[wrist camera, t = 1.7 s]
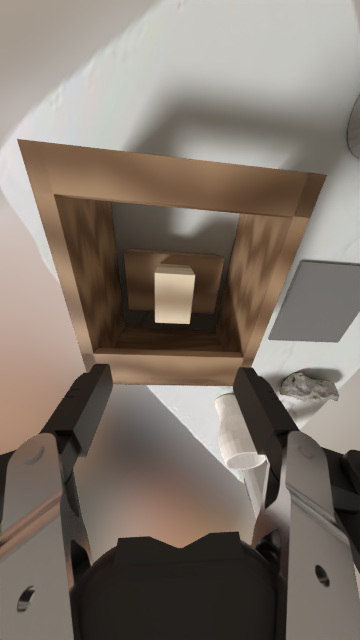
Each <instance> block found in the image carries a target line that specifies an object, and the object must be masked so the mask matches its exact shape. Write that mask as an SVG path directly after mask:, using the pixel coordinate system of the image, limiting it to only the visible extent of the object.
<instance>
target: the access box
mask: <svg viewBox="0 0 360 640" xmlns="http://www.w3.org/2000/svg"><path fill="white" fill-rule="evenodd" d="M17 141H18V144H19V147H20V151H21V154H22V157H23V161H24V164H25V167H26V171H27V174H28V177H29V181H30V184H31V187H32V191H33V194H34V197H35V201H36V204H37V208H38V211H39V214H40V218H41V221H42V224H43V228H44V231H45V234H46V238H47V241H48V244H49V248H50V251H51V254H52V258H53V261H54V264H55V268H56V271H57V274H58V278H59V281H60V284H61V288H62V291H63V294H64V298H65V301H66V304H67V308H68V311H69V315H70V318H71V321H72V325H73V328H74V331H75V335H76V338H77V341H78V345H79V348H80V351H81V355H82V358H83V361H84V365H85V368H86V371H87V373H89V372H90V370H91V368H92V367H93V365H94V364H109V365H110V369H111V374H112V379H113V384H125V385H126V384H128V385H192V386H233V383H234V380H235V377H236V374H237V371H238V369H239V367H251V366H252V363H253V361H254V358H255V356H256V353H257V351H258V348H259V346H260V343H261V341H262V338H263V336H264V333H265V330H266V328H267V325H268V323H269V320H270V318H271V315H272V313H273V310H274V308H275V305H276V303H277V300H278V298H279V295H280V292H281V290H282V287H283V285H284V282H285V280H286V277H287V275H288V272H289V270H290V267H291V265H292V262H293V260H294V257H295V254H296V252H297V249H298V247H299V244H300V242H301V239H302V237H303V234H304V232H305V229H306V227H307V224H308V222H309V219H310V216H311V214H312V211H313V209H314V206H315V204H316V201H317V199H318V196H319V194H320V191H321V189H322V186H323V184H324V181H325V179H326V176H327V175H323V174H315V173H306V172H298V171H289V170H280V169H272V168H263V167H254V166H246V165H237V164H228V163H220V162H211V161H202V160H194V159H185V158H176V157H168V156H159V155H150V154H142V153H133V152H124V151H116V150H107V149H99V148H90V147H81V146H73V145H64V144H55V143H47V142H38V141H29V140H21V139H17ZM111 201H113V202H123V203H134V204H145V205H155V206H166V207H177V208H187V209H198V210H209V211H219V212H230V213H240V216H239V221H238V226H237V230H236V235H235V240H234V244H233V249H232V254H231V259H230V263H229V268H228V273H227V277H226V282H225V287H224V292H223V296H222V301H221V306H220V310H219V315H218V320H217V324H216V329H215V331H206V330H181V329H156V328H130V327H125V324H124V315H123V306H122V297H121V289H120V280H119V271H118V262H117V253H116V245H115V236H114V227H113V218H112V210H111ZM224 259H225V258H223V257H221V256H219V255H207V254H194V253H180V252H167V251H153V250H140V249H128V250H125V251H124V262H125V273H126V283H127V294H128V305H129V310H148V311H155V271H156V269H157V267H158V265H159V264H174V265H189V266H190V267H191V269H192V270H193V272H194V274H195V282H194V290H193V299H192V307H191V313H212V314H214V310H215V305H216V300H217V295H218V289H219V284H220V279H221V274H222V269H223V264H224Z"/></svg>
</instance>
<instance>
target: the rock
mask: <svg viewBox="0 0 360 640" xmlns="http://www.w3.org/2000/svg"><path fill="white" fill-rule="evenodd" d="M279 392H280V394H281V395H287V396H293V397H295V398H297V399H300V400H302V401H304V402H305V403H306V402H321V401H322V400H324V399H328V398H329V399H333V400H335V401H338V397H339V395H338V391H337V389H336V387H335V385H334V383H332V382H329V381H322V380H319V379H316V380H313V379H310V378H308V377H307V376H304V374H303V373H293V374H291V375H290V376H289V377H287V378H286V380H284V382H283V383H282V385H281V388H280V389H279Z"/></svg>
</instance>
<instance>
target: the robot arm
mask: <svg viewBox="0 0 360 640" xmlns="http://www.w3.org/2000/svg"><path fill="white" fill-rule="evenodd" d="M348 144H349V147H350V150H351V151H352V153H353V155H355V156H356V157H357V158H359V159H360V96H359V98H358V99H357V101H356V104H355V106H354V109H353V111H352V114H351V118H350V121H349V127H348ZM112 387H113V379H112V374H111V369H110V365H109V364H94V365H93V367H92V368H91V370H90V372H89V373H83V374H82V375H81V376H80V377H78V379H76V380H75V381H74V383H73V384H72V386H71V387H70V390H69V391H68V392H67V393H66V395H65V397H64V398H63V399H62V401H61V402H60V404H59V405H58V407H57V408H56V410H55V411H54V413H53V414H52V416H51V417H50V419H49V420H48V422H47V423H46V425H45V426H44V428H43V429H42V430H41V432H40V433H39V434H38V435H36V436H34V437H32V438H30V439H28V440H27V441H26V442H24V443H23V444H22V445H21V446H20V447H19V448H18V449H17V450H14V451H11V452H9V453H6V454H2V455H0V523H1V521H2V531H1V538H0V640H360V599H359V593H358V588H357V582H356V576H355V570H354V564H355V565H356V568H357V569H358V571H359V573H360V451H357V450H350V451H348V452H347V453H346V454H345V455H343V454H340V453H337V452H334V451H331V450H329V449H326V448H323V447H320V446H319V444H318V443H317V442H316V441H315V440H314V439H312V438H311V437H310V436H308V435H307V434H304V433H303V432H301V431H300V430H299V429H298V427H297V426H296V424H295V423H294V421H293V420H292V418H291V417H290V415H289V413H288V412H287V410H286V409H285V407H284V406H283V404H282V403H281V401H280V400H279V398H278V396H277V395H276V393H274V390H273V389H272V387H271V386H270V384H269V383H268V382H267V381H266V380H265V379H264V378H263V377H261V376H258V375H257V373H256V372H255V370H254V369H253V368H252V367H239V369H238V371H237V374H236V377H235V380H234V383H233V391H234V395H235V397H236V400H237V402H238V405H239V407H240V410H241V413H242V415H243V418H244V420H245V423H246V426H247V428H248V431H249V433H250V436H251V438H252V441H253V444H254V446H255V449H256V451H257V454H258V455H266V456H267V458H268V463H267V468H266V475H265V482H264V488H263V495H262V502H261V508H260V512H259V515H258V517H257V520H256V523H255V526H254V531H253V537H252V543H251V545H249V544H247V543H246V542H244V541H242V540H240V536H239V532H223V533H222V532H221V533H209V534H208V535H206V536H204V537H202V538H200V539H198V540H197V541H195V542H193V543H191V544H189V545H187V546H185V547H184V548H176V547H173V546H171V545H168V544H166V543H164V542H161V541H159V540H156V539H154V538H152V537H130V538H118V543H117V546H116V547H114V548H112V549H111V550H109V551H107V552H106V553H105V554H103V555H102V556H101V557H100V558H99V559H98V560H97V561H95V562H94V563H93V559H92V553H91V548H90V544H89V539H88V534H87V530H86V527H85V524H84V521H83V518H82V513H81V508H80V503H79V497H78V491H77V486H76V480H75V475H74V469H73V467H74V464H75V462H76V460H77V458H78V457H86V456H87V453H88V450H89V448H90V445H91V443H92V440H93V437H94V435H95V433H96V430H97V428H98V425H99V422H100V420H101V417H102V415H103V412H104V410H105V407H106V404H107V402H108V399H109V397H110V394H111V391H112ZM353 562H354V564H353ZM29 602H31V604H30V606H29V607H28V603H29Z"/></svg>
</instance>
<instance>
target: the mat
mask: <svg viewBox="0 0 360 640" xmlns="http://www.w3.org/2000/svg"><path fill="white" fill-rule="evenodd" d="M359 311H360V266H357V265H343V264H329V263H316V262H302V261H300V263H299V266H298V268H297V270H296V273H295V275H294V278H293V280H292V282H291V285H290V287H289V290H288V292H287V294H286V297H285V299H284V302H283V304H282V306H281V309H280V311H279V314H278V316H277V318H276V321H275V323H274V326H273V328H272V330H271V333H270V335H269V338H268V339H269V340H285V341H313V342H339V341H340V339H341V338H342V336H343V335H344V333H345V332H346V330H347V329H348V327H349V326H350V325H351V323H352V322H353V320H354V319H355V317H356V316H357V314H358V313H359Z"/></svg>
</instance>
